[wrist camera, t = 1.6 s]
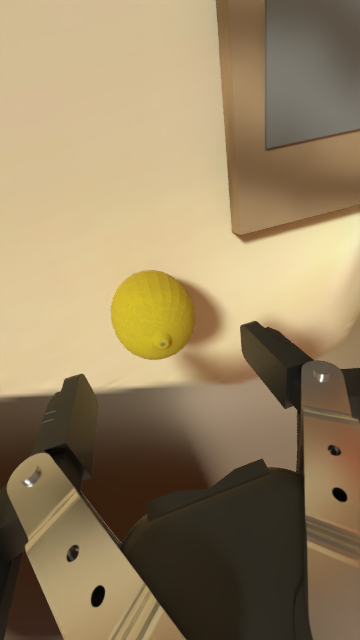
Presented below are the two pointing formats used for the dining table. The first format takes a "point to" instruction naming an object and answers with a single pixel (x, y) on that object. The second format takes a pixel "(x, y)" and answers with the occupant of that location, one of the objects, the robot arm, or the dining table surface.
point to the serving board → (290, 108)
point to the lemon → (152, 315)
